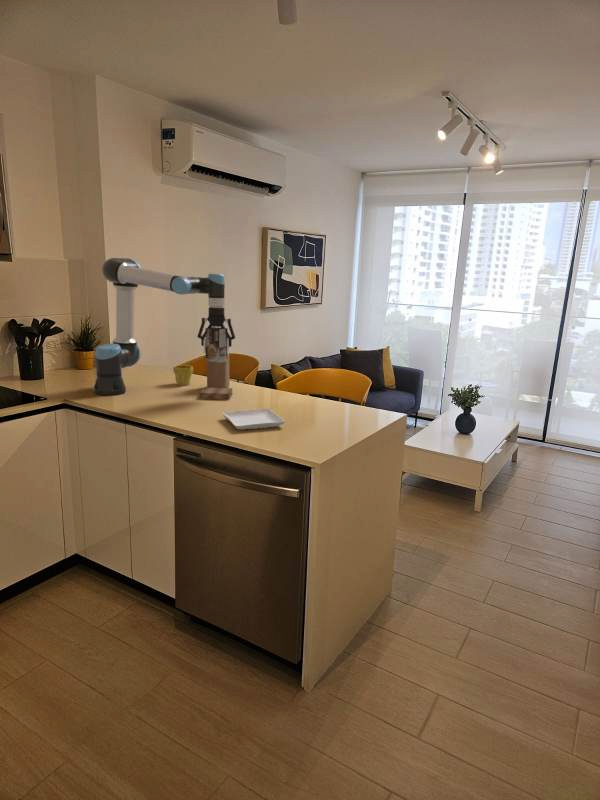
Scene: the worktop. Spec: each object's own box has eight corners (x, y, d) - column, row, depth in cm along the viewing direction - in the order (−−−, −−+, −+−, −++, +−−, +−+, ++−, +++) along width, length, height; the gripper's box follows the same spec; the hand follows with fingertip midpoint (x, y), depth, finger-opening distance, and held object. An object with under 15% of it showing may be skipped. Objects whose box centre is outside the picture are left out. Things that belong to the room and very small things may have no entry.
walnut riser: (200, 398, 260) (200, 392, 259) (204, 393, 271) (204, 387, 271) (229, 399, 260) (229, 393, 259) (232, 394, 271) (232, 388, 271)
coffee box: (228, 361, 262) (228, 328, 258) (219, 363, 256) (219, 329, 253) (213, 359, 266) (213, 326, 263) (204, 360, 261) (204, 327, 257)
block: (229, 386, 288) (230, 349, 284) (225, 390, 279) (225, 352, 274) (211, 385, 289) (211, 348, 285) (206, 389, 280) (206, 351, 275)
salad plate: (235, 433, 208) (235, 425, 208) (221, 419, 227) (221, 411, 227) (286, 429, 217) (286, 420, 216) (268, 415, 236) (268, 408, 235)
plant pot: (197, 384, 292) (197, 366, 290) (183, 387, 284) (183, 368, 282) (183, 381, 298) (182, 364, 295) (169, 384, 289) (169, 366, 287)
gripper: (190, 306, 252) (191, 353, 257) (239, 308, 252) (239, 355, 257) (193, 305, 259) (194, 351, 264) (241, 307, 259) (241, 352, 264)
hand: (216, 353), depth 261 cm, fingers closed on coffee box, 10 cm apart
